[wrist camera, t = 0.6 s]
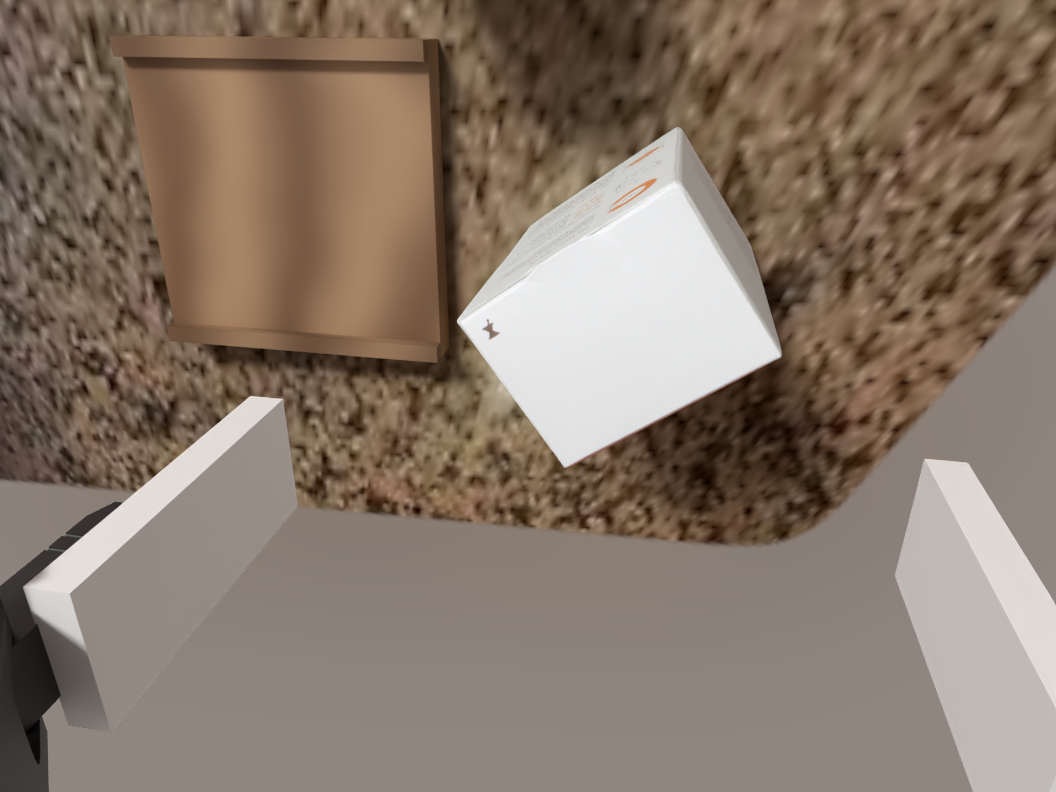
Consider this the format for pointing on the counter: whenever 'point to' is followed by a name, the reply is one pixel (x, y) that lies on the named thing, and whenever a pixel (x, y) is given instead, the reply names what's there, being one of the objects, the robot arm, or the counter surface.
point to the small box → (625, 304)
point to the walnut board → (296, 190)
